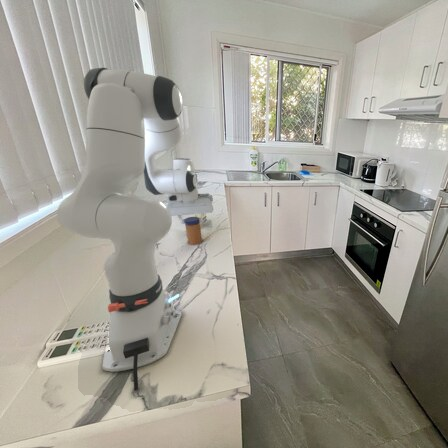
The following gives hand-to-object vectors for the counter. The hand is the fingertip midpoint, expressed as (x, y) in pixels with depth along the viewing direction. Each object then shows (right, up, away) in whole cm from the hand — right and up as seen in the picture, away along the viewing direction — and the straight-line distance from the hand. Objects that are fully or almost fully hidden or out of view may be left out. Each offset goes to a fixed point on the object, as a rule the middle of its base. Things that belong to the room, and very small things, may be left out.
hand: (192, 222), depth 116 cm
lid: (0, +1, 0) cm, 1 cm away
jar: (0, -9, +4) cm, 10 cm away
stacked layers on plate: (-5, -1, +23) cm, 24 cm away
